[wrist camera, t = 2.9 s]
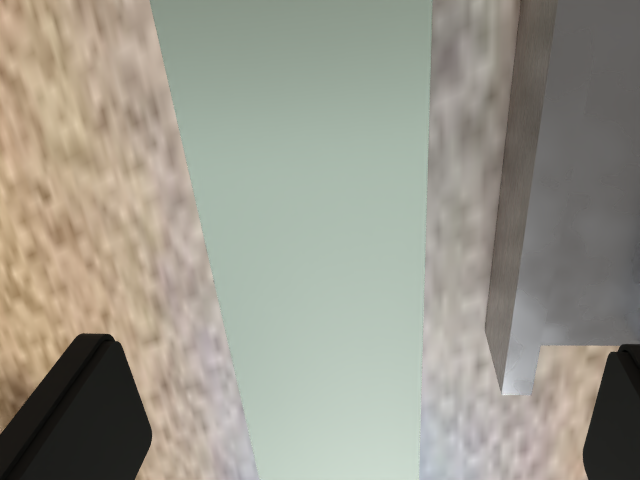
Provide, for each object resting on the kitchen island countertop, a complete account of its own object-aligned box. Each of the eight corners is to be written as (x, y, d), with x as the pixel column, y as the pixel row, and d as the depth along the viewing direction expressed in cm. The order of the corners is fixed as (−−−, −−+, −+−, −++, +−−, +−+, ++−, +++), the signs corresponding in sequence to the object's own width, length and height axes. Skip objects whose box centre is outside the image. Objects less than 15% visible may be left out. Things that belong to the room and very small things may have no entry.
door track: (543, -202, 15) (592, -237, 12) (851, -239, 14) (1003, -288, 11) (484, 330, 25) (501, 394, 22) (659, 330, 24) (705, 397, 21)
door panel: (279, -57, 18) (144, -21, 7) (399, -68, 17) (433, -46, 7) (315, 281, 25) (272, 534, 15) (400, 280, 24) (417, 541, 14)
